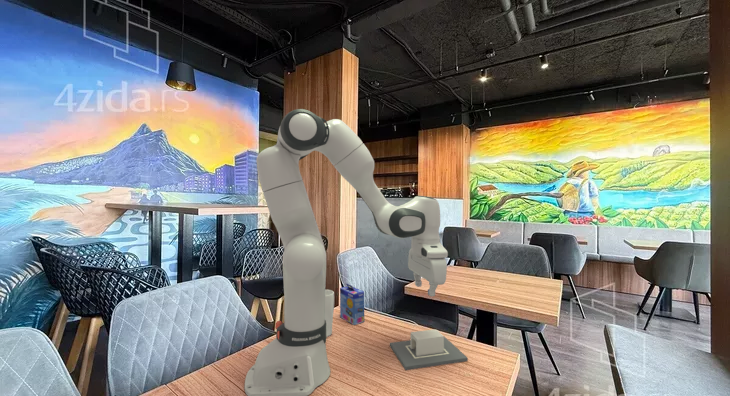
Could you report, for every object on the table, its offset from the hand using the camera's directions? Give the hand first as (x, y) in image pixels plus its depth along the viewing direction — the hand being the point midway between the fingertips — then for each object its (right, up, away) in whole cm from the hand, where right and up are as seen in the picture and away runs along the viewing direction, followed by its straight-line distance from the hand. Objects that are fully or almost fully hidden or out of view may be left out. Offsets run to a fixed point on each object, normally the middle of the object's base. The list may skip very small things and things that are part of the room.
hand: (424, 290), depth 93 cm
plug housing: (+1, -19, 0) cm, 19 cm away
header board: (+1, -20, 0) cm, 20 cm away
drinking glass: (-33, -20, +12) cm, 40 cm away
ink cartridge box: (-24, -20, +24) cm, 39 cm away
